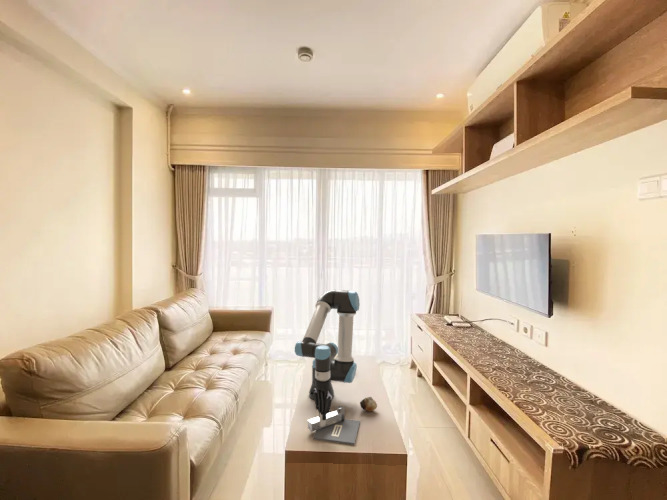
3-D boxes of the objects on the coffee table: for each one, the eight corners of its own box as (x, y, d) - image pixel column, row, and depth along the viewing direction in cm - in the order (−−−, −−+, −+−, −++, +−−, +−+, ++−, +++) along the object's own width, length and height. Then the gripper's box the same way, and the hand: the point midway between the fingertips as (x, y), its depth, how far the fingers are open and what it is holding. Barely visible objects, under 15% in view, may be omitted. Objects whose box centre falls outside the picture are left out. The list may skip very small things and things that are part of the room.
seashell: (376, 408, 193) (376, 394, 193) (377, 414, 188) (377, 399, 187) (359, 408, 194) (360, 394, 193) (360, 413, 188) (360, 399, 188)
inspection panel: (322, 417, 183) (323, 415, 183) (360, 422, 179) (360, 420, 179) (313, 439, 163) (313, 436, 163) (354, 445, 159) (354, 442, 159)
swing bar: (341, 416, 181) (341, 405, 181) (346, 419, 178) (346, 408, 178) (307, 428, 169) (307, 417, 169) (311, 432, 166) (311, 420, 166)
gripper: (308, 376, 170) (308, 423, 170) (326, 384, 160) (326, 433, 161) (319, 372, 175) (319, 417, 176) (337, 379, 166) (337, 427, 167)
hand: (322, 425), depth 168 cm, fingers closed
